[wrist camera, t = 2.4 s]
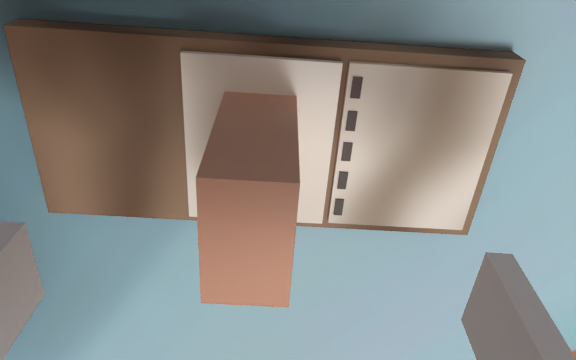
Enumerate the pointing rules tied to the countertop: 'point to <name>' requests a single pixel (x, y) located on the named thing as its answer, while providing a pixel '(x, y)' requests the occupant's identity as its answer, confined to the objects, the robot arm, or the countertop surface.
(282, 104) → the stub
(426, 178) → the board
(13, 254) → the robot arm
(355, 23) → the countertop surface
